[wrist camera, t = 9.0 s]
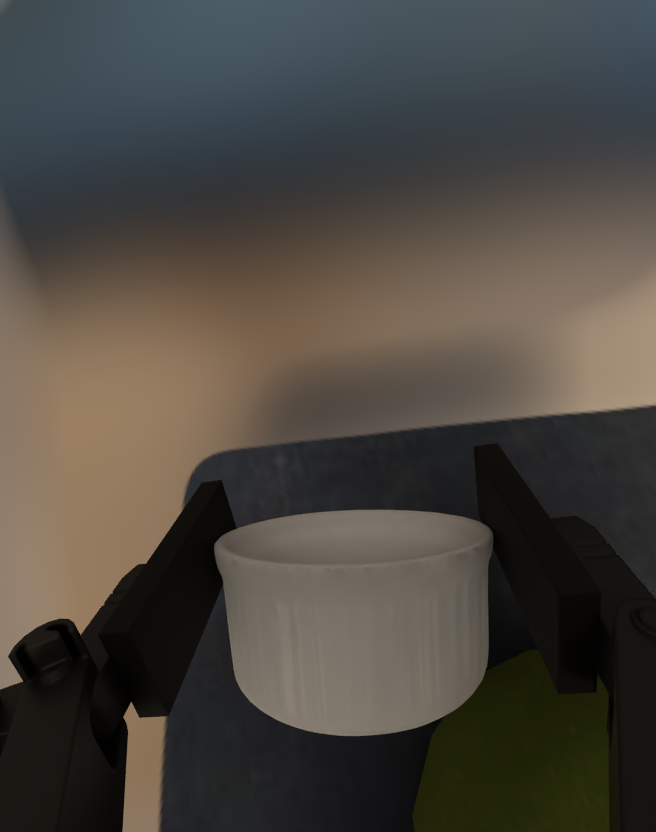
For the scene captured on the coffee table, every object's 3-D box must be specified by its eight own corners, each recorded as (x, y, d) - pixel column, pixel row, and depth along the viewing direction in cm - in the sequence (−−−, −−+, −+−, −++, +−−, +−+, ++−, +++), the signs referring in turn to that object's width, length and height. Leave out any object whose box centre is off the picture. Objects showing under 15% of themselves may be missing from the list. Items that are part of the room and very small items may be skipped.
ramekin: (178, 658, 15) (175, 531, 15) (368, 594, 20) (362, 501, 20) (334, 839, 8) (322, 594, 8) (562, 666, 13) (550, 522, 13)
